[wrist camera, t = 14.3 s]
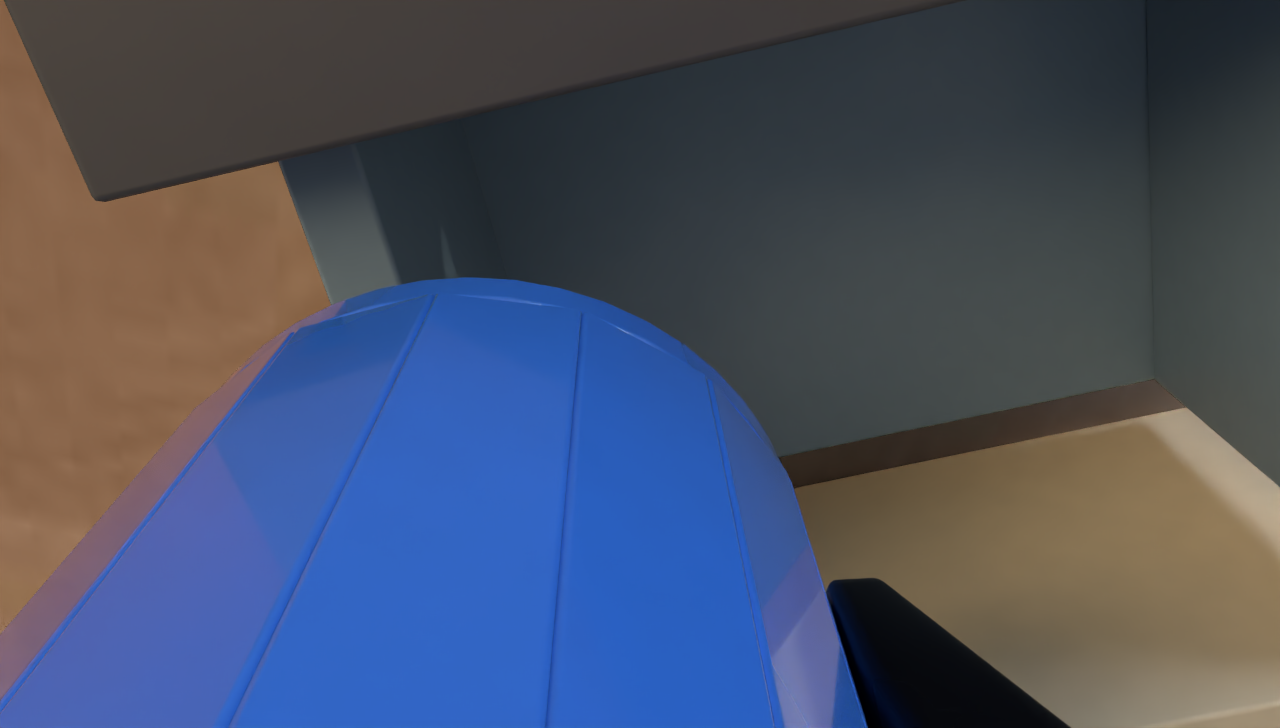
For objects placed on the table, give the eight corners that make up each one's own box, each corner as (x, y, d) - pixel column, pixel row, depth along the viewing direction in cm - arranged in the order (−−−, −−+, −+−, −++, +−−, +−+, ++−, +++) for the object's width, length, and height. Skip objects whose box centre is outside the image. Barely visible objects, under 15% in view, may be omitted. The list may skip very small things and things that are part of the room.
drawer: (1206, 654, 22) (1469, 982, 15) (590, 772, 23) (582, 1132, 16) (1205, -451, 14) (1741, -777, 7) (272, -210, 15) (2, -310, 8)
